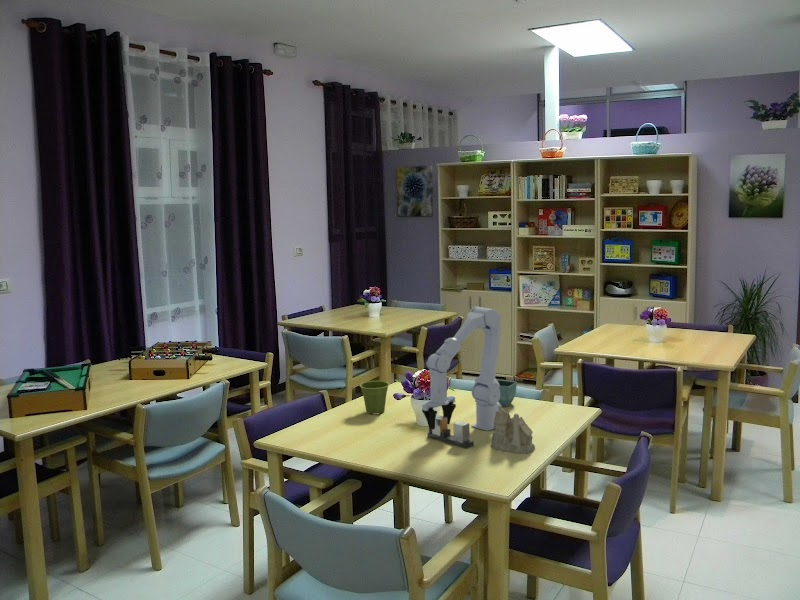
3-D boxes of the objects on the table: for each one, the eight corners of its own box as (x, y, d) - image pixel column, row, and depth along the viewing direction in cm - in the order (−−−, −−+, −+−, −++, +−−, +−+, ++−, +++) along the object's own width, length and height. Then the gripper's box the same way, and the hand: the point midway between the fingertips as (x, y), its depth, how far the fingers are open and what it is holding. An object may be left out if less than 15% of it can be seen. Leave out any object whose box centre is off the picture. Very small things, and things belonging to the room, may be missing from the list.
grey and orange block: (439, 431, 254) (438, 415, 253) (448, 434, 250) (447, 417, 250) (432, 433, 251) (431, 417, 251) (441, 436, 248) (440, 419, 247)
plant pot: (356, 410, 288) (355, 383, 287) (382, 406, 293) (382, 379, 292) (367, 417, 278) (366, 389, 276) (394, 413, 283) (394, 385, 281)
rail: (427, 436, 253) (427, 416, 252) (435, 434, 256) (435, 413, 255) (465, 448, 240) (465, 426, 239) (473, 445, 242) (473, 424, 241)
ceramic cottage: (524, 456, 231) (524, 410, 230) (481, 448, 241) (481, 404, 240) (547, 446, 243) (547, 402, 242) (506, 438, 253) (505, 396, 252)
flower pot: (517, 403, 293) (517, 381, 291) (508, 408, 285) (508, 386, 284) (497, 400, 297) (497, 379, 296) (488, 405, 290) (488, 384, 289)
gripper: (432, 394, 241) (433, 433, 243) (461, 386, 251) (461, 423, 253) (417, 390, 246) (418, 429, 248) (446, 383, 256) (447, 419, 258)
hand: (439, 426), depth 251 cm, fingers open, 7 cm apart
